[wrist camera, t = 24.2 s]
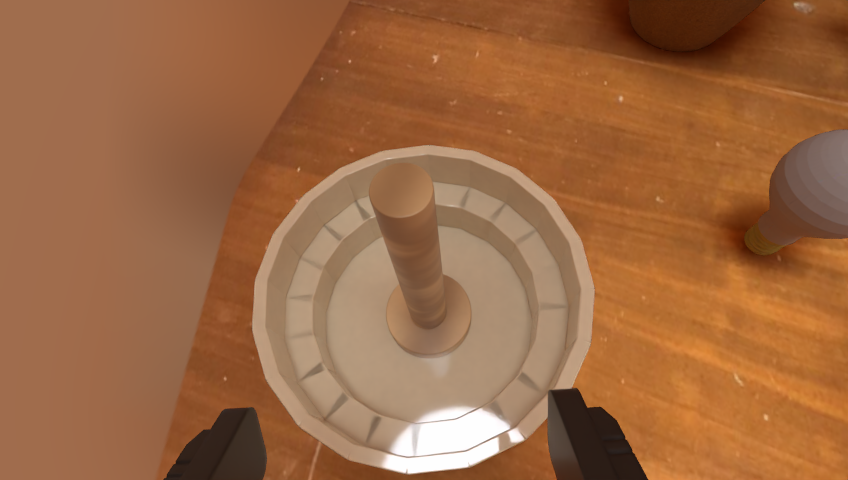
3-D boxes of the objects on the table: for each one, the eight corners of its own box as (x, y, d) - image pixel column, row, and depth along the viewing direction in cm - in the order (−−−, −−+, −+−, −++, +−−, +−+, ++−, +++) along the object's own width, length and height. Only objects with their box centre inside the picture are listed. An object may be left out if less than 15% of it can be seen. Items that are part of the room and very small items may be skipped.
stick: (379, 349, 29) (303, 245, 15) (399, 271, 31) (348, 119, 17) (462, 366, 28) (463, 273, 14) (477, 285, 30) (490, 137, 16)
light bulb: (821, 249, 30) (974, 157, 21) (767, 300, 29) (906, 227, 20) (746, 193, 32) (857, 88, 23) (693, 239, 31) (789, 147, 22)
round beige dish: (253, 431, 28) (198, 423, 22) (338, 185, 35) (313, 129, 29) (552, 505, 25) (579, 517, 19) (578, 221, 32) (603, 167, 26)
